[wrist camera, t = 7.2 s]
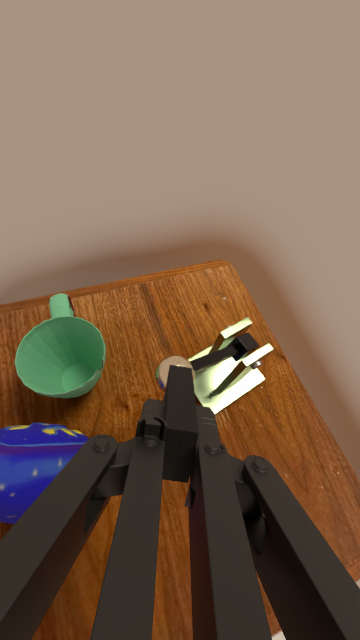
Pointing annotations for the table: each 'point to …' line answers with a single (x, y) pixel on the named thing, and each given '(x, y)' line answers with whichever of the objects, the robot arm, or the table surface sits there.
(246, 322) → the bracket
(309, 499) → the table surface
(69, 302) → the mug
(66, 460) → the ornament
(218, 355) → the lever
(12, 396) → the table surface
